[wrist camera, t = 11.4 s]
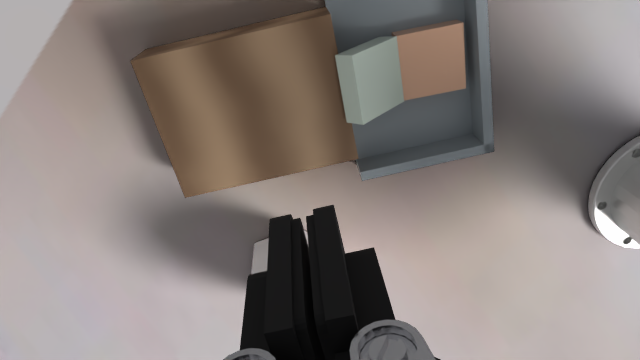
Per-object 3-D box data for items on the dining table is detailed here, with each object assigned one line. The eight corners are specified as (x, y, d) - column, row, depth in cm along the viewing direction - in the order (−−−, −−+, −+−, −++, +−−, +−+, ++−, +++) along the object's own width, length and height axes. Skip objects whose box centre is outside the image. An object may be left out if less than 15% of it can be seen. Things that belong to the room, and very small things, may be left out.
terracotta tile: (396, 36, 34) (391, 32, 36) (402, 100, 37) (398, 94, 38) (463, 22, 34) (456, 19, 36) (466, 88, 36) (459, 83, 38)
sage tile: (379, 36, 35) (396, 36, 34) (387, 99, 38) (404, 101, 36) (334, 55, 32) (351, 55, 31) (346, 122, 35) (363, 124, 34)
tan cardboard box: (325, 6, 35) (330, 13, 31) (351, 139, 40) (358, 158, 36) (145, 49, 36) (130, 60, 32) (193, 175, 40) (185, 197, 37)
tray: (468, -65, 34) (484, -66, 31) (480, 137, 41) (494, 151, 38) (318, -30, 34) (321, -27, 31) (357, 165, 41) (362, 180, 38)
